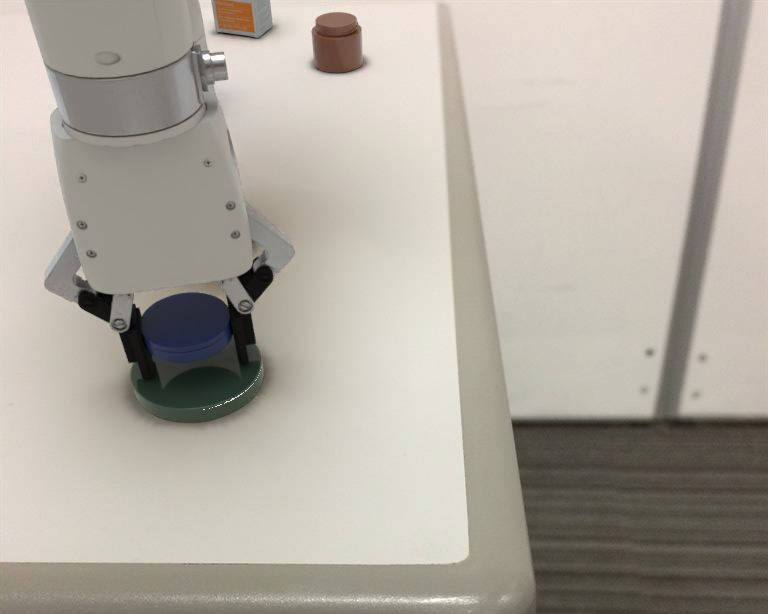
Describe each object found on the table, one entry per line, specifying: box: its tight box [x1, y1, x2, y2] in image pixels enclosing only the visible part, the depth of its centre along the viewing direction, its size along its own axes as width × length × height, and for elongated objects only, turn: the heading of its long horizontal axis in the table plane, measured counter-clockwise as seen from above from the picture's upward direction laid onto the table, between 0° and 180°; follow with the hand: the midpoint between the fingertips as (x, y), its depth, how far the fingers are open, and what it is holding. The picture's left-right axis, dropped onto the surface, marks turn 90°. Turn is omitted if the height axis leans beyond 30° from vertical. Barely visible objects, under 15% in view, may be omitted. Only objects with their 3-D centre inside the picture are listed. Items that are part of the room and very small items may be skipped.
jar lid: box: [140, 291, 233, 363], centre depth 54 cm, size 6×6×1 cm
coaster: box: [129, 336, 265, 423], centre depth 57 cm, size 9×9×1 cm
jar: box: [311, 11, 364, 74], centre depth 92 cm, size 6×6×4 cm
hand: (194, 356), depth 56 cm, fingers closed on jar lid, 5 cm apart
